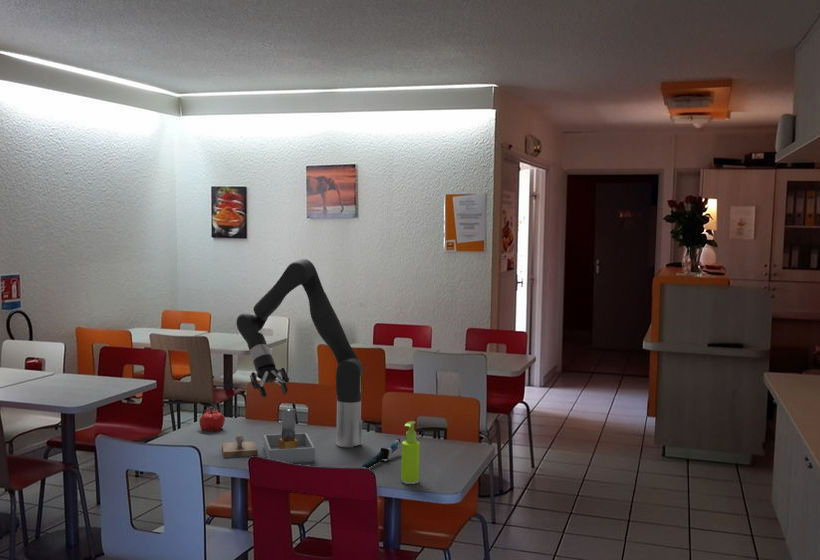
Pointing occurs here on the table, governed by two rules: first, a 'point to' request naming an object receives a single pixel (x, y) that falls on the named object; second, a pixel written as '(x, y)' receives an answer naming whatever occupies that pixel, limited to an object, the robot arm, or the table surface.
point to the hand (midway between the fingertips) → (275, 395)
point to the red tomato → (211, 420)
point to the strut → (288, 430)
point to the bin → (295, 455)
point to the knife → (383, 454)
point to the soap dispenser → (410, 455)
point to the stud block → (239, 448)
